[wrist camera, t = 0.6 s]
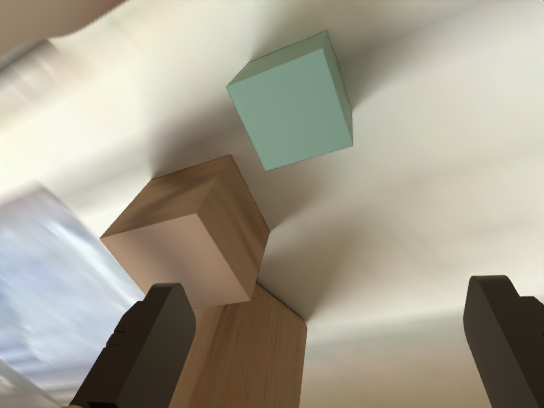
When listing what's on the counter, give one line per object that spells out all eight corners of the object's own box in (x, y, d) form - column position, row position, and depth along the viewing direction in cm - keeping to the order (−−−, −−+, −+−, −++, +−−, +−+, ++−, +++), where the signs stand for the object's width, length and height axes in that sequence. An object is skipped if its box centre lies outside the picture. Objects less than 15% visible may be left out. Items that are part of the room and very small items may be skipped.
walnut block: (231, 153, 28) (196, 213, 22) (270, 230, 32) (250, 300, 25) (151, 179, 31) (99, 238, 24) (195, 247, 35) (161, 314, 28)
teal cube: (327, 29, 22) (322, 48, 17) (352, 111, 25) (353, 145, 20) (248, 62, 24) (225, 87, 19) (279, 135, 26) (265, 171, 22)
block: (312, 321, 38) (285, 593, 22) (251, 351, 43) (193, 590, 27) (242, 266, 35) (152, 534, 19) (186, 305, 40) (77, 542, 24)
